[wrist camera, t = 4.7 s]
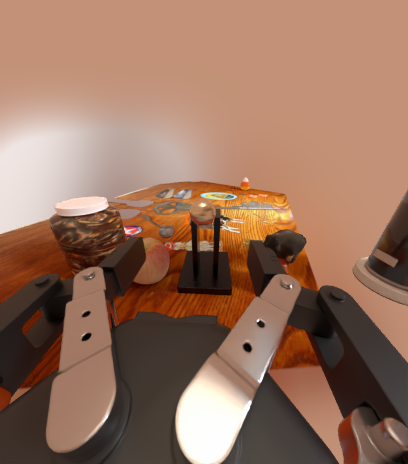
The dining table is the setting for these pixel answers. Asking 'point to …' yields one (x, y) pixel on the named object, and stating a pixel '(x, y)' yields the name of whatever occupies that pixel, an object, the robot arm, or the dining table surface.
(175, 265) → the dining table surface
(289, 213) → the dining table surface
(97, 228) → the jar
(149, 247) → the apple
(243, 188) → the candy corn
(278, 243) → the figurine
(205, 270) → the bracket
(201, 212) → the lever
